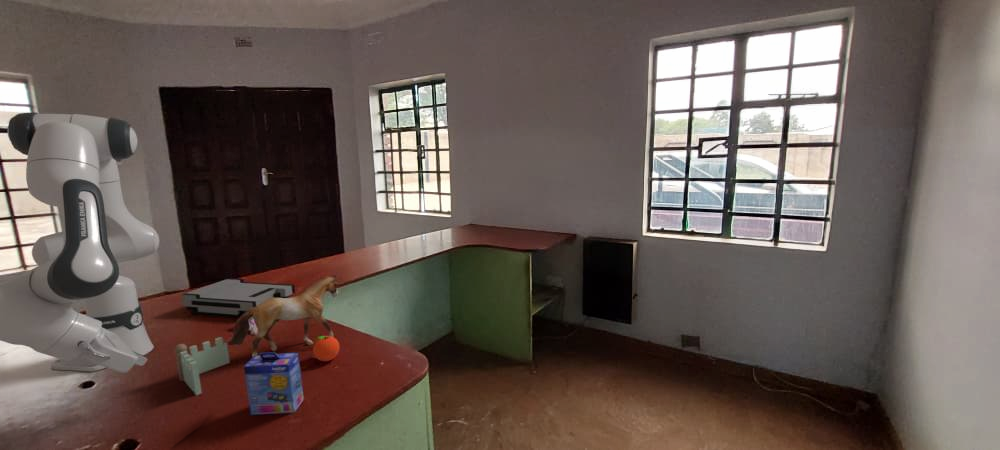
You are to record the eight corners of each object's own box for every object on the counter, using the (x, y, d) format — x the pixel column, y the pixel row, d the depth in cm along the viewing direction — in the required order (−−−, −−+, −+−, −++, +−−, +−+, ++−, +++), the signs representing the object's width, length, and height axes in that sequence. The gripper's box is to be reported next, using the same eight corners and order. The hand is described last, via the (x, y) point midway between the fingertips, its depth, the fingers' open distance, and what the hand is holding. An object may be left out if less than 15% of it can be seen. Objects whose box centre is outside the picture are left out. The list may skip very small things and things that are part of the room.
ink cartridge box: (248, 416, 88) (240, 356, 86) (261, 401, 94) (253, 344, 91) (294, 413, 89) (287, 353, 87) (304, 398, 94) (298, 342, 92)
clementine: (305, 363, 111) (303, 339, 110) (324, 351, 118) (322, 329, 116) (328, 367, 109) (325, 343, 107) (345, 355, 115) (343, 332, 114)
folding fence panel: (184, 380, 102) (179, 352, 100) (189, 379, 103) (185, 350, 101) (196, 395, 95) (191, 364, 94) (201, 393, 96) (196, 362, 95)
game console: (254, 321, 143) (251, 299, 141) (184, 315, 150) (181, 294, 149) (296, 300, 163) (293, 281, 161) (232, 296, 170) (229, 278, 169)
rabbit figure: (270, 337, 132) (251, 320, 140) (270, 321, 130) (250, 304, 139) (250, 344, 127) (231, 326, 136) (249, 327, 126) (230, 310, 134)
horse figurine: (343, 332, 131) (337, 272, 127) (348, 341, 124) (342, 278, 121) (230, 360, 114) (220, 292, 110) (229, 372, 107) (219, 300, 104)
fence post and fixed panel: (181, 382, 101) (175, 347, 100) (177, 379, 103) (171, 345, 101) (230, 364, 110) (226, 331, 109) (227, 361, 112) (222, 329, 110)
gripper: (98, 336, 78) (168, 360, 88) (79, 313, 90) (142, 337, 100) (70, 366, 75) (145, 388, 85) (54, 338, 87) (121, 361, 97)
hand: (143, 360), depth 92 cm, fingers closed
